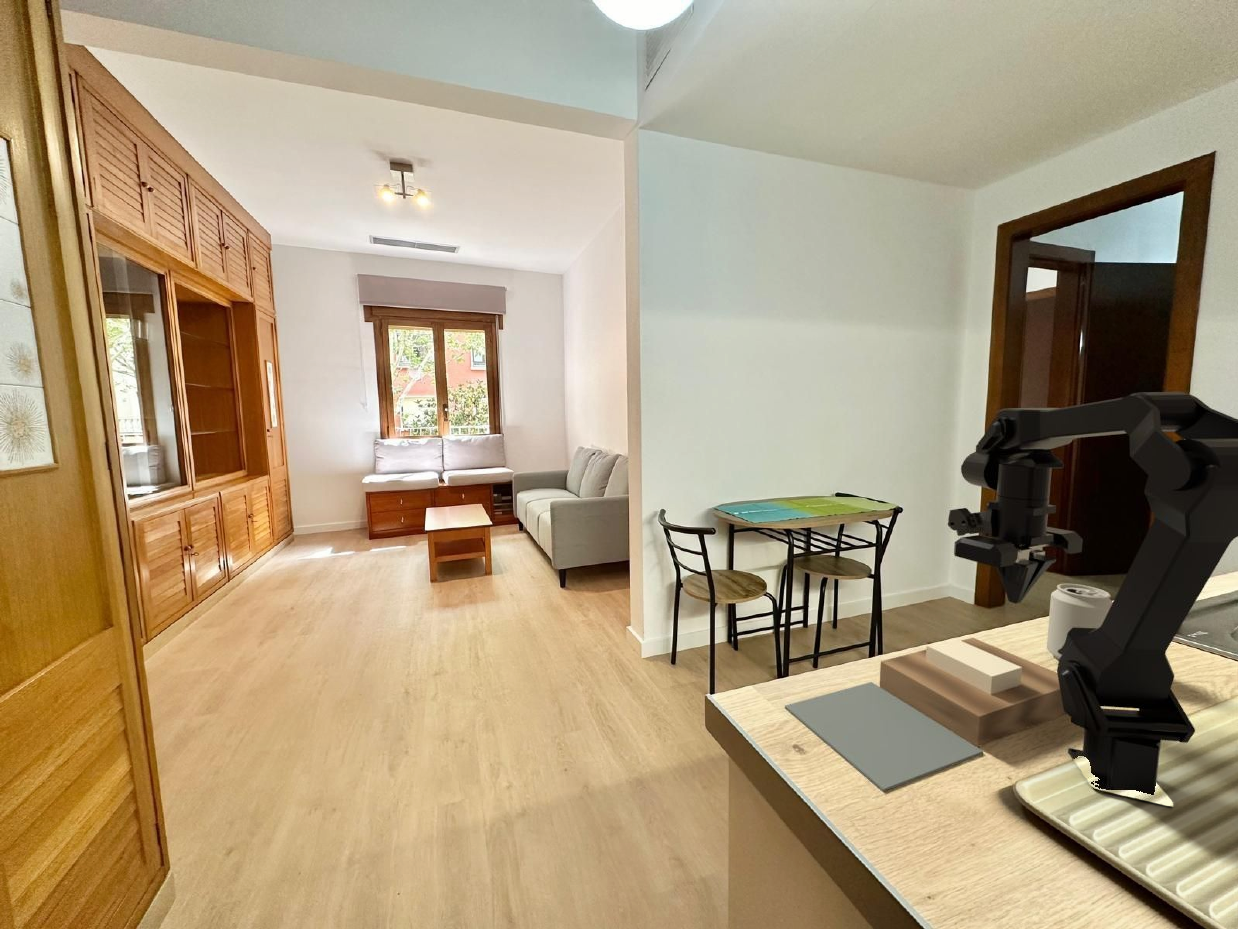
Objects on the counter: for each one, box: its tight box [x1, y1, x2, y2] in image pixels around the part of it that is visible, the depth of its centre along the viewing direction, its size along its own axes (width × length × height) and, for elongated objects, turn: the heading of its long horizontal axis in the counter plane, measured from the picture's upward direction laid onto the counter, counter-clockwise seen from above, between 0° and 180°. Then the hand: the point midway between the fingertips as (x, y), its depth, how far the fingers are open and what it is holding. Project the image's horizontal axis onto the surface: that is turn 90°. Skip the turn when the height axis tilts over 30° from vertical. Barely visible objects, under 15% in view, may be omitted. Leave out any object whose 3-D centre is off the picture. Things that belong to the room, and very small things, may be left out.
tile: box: [925, 637, 1022, 695], centre depth 68 cm, size 6×9×2 cm, turn 20°
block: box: [879, 637, 1068, 748], centre depth 68 cm, size 20×14×4 cm
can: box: [1046, 583, 1113, 661], centre depth 78 cm, size 8×8×12 cm
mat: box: [784, 681, 984, 792], centre depth 62 cm, size 16×16×1 cm
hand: (1014, 602), depth 70 cm, fingers closed
